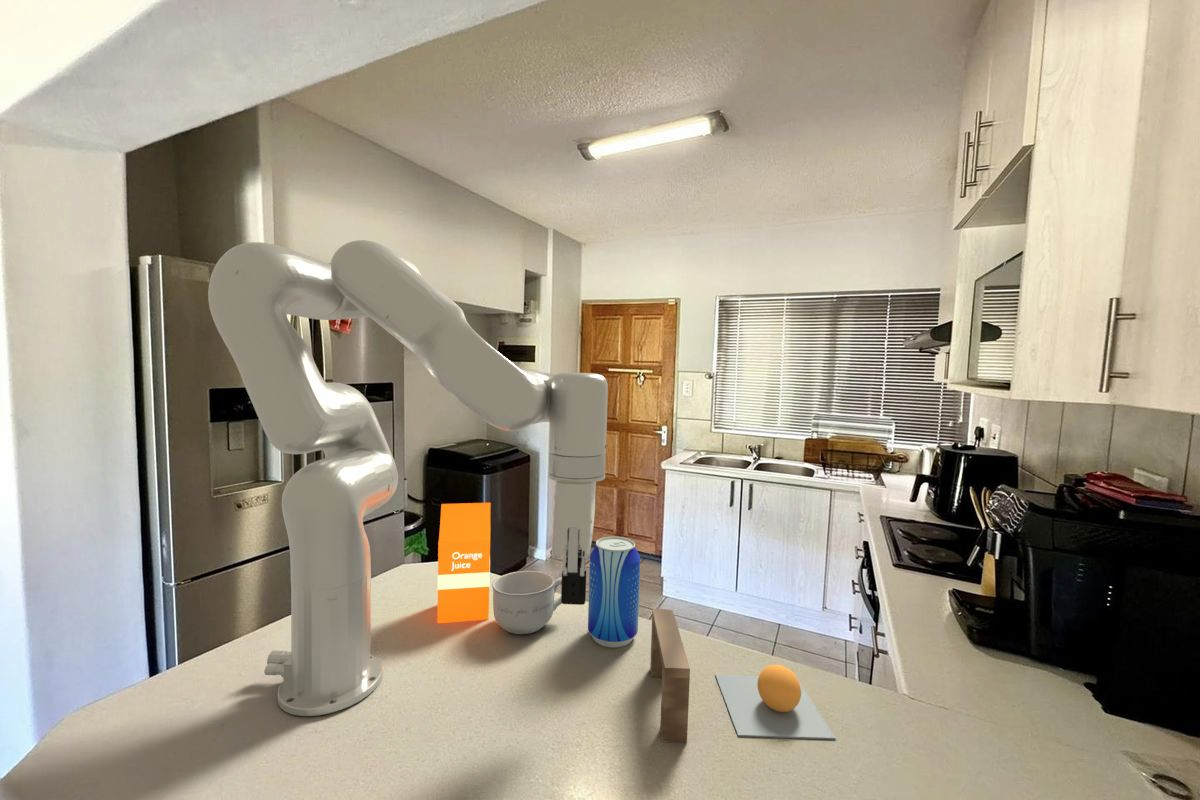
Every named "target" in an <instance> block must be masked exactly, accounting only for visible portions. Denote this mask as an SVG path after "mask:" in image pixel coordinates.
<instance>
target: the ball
mask: <svg viewBox="0 0 1200 800" xmlns="http://www.w3.org/2000/svg"><path fill="white" fill-rule="evenodd" d="M758 676H759V677H758V683H757V686H758V691H759V694H760V697H761V698H762V700H763V701H764V703H765V704H766V705H767V706H768V707H770V708H771V709H773V710H775V711H778V712H788V711H791V710H793V709H794V708H795V707H796V706H797V705H798V703H799V701H800V698H801V687H800V683H801V682H800V680H799V678H798V677H797V675H796V674H795V673H794V672H793V671H792V670H791V669H789V668H788V667H786V666H784V665H781V664H770V665H767V666H765V667H764V668H763V669H762V670H761V672H760V673H759V675H758ZM797 678H798V679H797ZM798 680H799V681H798ZM799 682H800V683H799Z"/></svg>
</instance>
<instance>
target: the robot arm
mask: <svg viewBox="0 0 1200 800" xmlns="http://www.w3.org/2000/svg"><path fill="white" fill-rule="evenodd" d="M207 291H208V292H207V293H208V294H207V297H208V298H207V299H208V300H207V301H208V306H209V311H210V315H211V317H212V320H213V322H214V324H215V327H216V329H217V331H218V333H219V335H220V337H221V339H222V340H223V343H224V344H225V346H226V348H227V349H228V351H229V354H230V355H231V357H232V358H233V361H234V363H235V365H236V368H237V369H238V372H239V374H240V377H241V380H242V383H243V385H244V387H245V390H246V392H247V394H248V396H249V399H250V402H251V404H252V405H253V409H254V411H255V413H256V416H257V417H258V421H259V422H260V425H261V427H262V429H263V432H264V433H265V436H266V437H267V439H268V441H269V442H270V444H271V445H272V446H273V448H275V449H276V450H278V451H280V452H281V453H284V454H290V455H300V454H301V455H302V454H309V453H314V452H317V451H318V452H319V451H322V452H323V454H324V457H325V458H322V459H318V460H315V461H313V462H311V463H309V464H307V465H305V466H303V467H302V468H300V469H299V470H298V471H296V472H295V473H294V474H293V475H292V476H291V477H290V478H289V480H288V481H287V483H286V484H285V486H284V489H283V492H282V496H281V510H282V515H283V517H282V518H283V521H284V526H285V529H286V533H287V538H288V545H289V546H288V547H289V557H290V558H289V559H290V561H289V562H290V585H291V586H290V590H291V592H290V597H291V598H290V601H291V602H290V603H291V604H290V605H291V606H290V607H291V609H290V614H291V615H290V616H291V617H290V618H291V621H290V622H291V623H290V628H291V629H290V630H291V633H290V634H291V635H290V637H291V638H290V639H291V641H290V643H291V644H290V645H291V651H290V650H289V651H288V650H272V651H271V652H270V653H269V654H268V657H267V659H266V663H267V664H266V666H265V668H264V676H265V675H266V676H281V678H283V679H282V682H281V683H280V685H279V687H278V689H277V704H278V706H279V707H280V709H282V710H283V711H284V712H285V713H288V714H291V715H294V716H299V717H314V716H316V717H317V716H323V715H328V714H332V713H335V712H338V711H342V710H344V709H347V708H349V707H352V706H354V705H355V704H357V703H359V702H360V701H363V699H365V698H367V697H368V696H369V695H370V694H371V693H372V692H374V690H375V689H376V688H377V687H378V685H380V683H381V681H382V678H383V664H382V662H381V660H380V659H379V658H378V657H376V656H375V655H373V654H372V653H371V651H372V650H371V649H372V647H371V644H372V643H371V642H372V641H371V640H372V638H371V637H372V635H371V633H372V631H371V630H372V628H371V627H372V625H371V624H372V623H371V621H372V619H371V618H372V616H371V615H372V614H371V613H372V607H371V606H372V592H371V591H372V567H371V565H372V562H371V561H372V560H371V555H372V554H371V547H370V542H369V540H368V535H367V533H366V530H365V527H364V521H363V520H364V517H366V516H367V515H368V514H370V513H372V512H373V511H376V510H377V509H379V508H380V507H382V506H383V505H385V504H386V503H387V502H389V501H390V499H392V497H393V496H394V495H395V493H396V490H397V488H398V485H399V484H398V483H399V472H398V467H397V464H396V461H395V459H394V456H393V453H392V451H391V449H390V446H389V443H388V442H387V440H386V437H385V434H384V432H383V430H382V428H381V425H380V423H379V420H378V418H377V415H376V413H375V411H374V409H373V407H372V405H371V403H370V401H368V399H367V397H366V396H365V395H363V393H361V391H359V390H358V389H356V388H355V387H353V386H351V385H349V384H346V383H341V382H331V381H330V382H326V381H325V380H324V378H323V377H322V375H321V373H320V371H319V368H318V367H317V364H316V362H315V360H314V357H313V355H312V351H311V349H310V348H309V346H308V344H307V343H306V341H305V340H304V339H303V337H302V336H301V334H299V332H298V331H297V330H296V329H295V328H294V326H293V325H292V324H291V322H290V320H289V319H288V315H290V316H295V317H302V318H307V319H311V320H322V321H323V320H325V321H334V320H335V321H337V320H348V319H349V320H350V319H362V318H370V319H371V320H372V321H374V322H375V323H376V324H378V325H379V326H380V327H381V328H382V329H384V330H385V331H386V332H388V334H390V335H391V336H392V337H394V338H395V339H396V340H397V341H399V343H401V344H402V345H403V346H405V348H407V349H408V350H409V351H411V352H412V353H413V354H414V355H415V356H416V357H417V358H418V360H419V362H420V363H421V364H422V366H423V367H424V368H425V369H426V370H427V371H428V372H429V373H430V375H431V376H432V377H433V379H434V380H436V382H437V383H438V384H439V385H440V386H442V388H444V389H445V390H446V391H447V392H448V393H449V394H450V395H451V396H452V397H454V398H455V399H456V400H457V401H459V403H462V405H463V406H465V407H467V409H469V411H472V412H473V414H475V415H477V416H478V417H479V418H480V419H481V420H483V421H484V422H486V423H487V424H488V425H491V426H493V427H494V428H496V429H499V430H501V431H507V432H516V431H522V430H525V429H527V428H528V427H530V426H531V425H532V426H533V425H535V424H539V423H549V435H548V436H549V438H548V439H549V440H548V442H549V443H548V476H547V477H548V478H549V479H550V480H552V481H555V486H554V495H553V496H554V497H553V512H552V534H551V537H552V538H551V540H552V541H551V551H550V552H551V553H550V554H551V555H550V556H551V558H552V559H553V560H557V558H558V559H559V558H561V557H562V558H563V562H562V563H563V564H562V567H563V569H562V572H561V577H562V583H561V593H560V594H561V596H560V597H561V602H562V604H563V605H574V606H575V605H578V606H580V605H585V604H586V597H587V595H586V594H587V570H585V569H586V560H588V559H590V554H591V548H592V542H593V535H594V524H595V515H596V514H595V511H596V491H597V482H601V481H604V480H605V479H606V468H607V467H606V462H607V458H606V457H607V435H608V434H607V428H608V399H609V398H608V394H609V391H608V390H609V388H608V387H609V386H608V380H607V379H606V377H604V376H603V375H602V374H599V373H591V372H559V373H550V372H549V373H548V372H542V371H536V370H532V369H531V370H530V369H524V368H519V367H518V366H517V365H516V364H514V363H513V362H512V361H511V360H509V359H508V358H507V357H506V356H504V355H503V354H502V353H500V352H499V351H498V350H497V349H495V348H494V347H493V346H492V345H491V344H489V343H488V342H487V341H486V340H485V339H484V338H483V337H481V335H480V334H478V333H477V332H476V331H475V330H474V329H473V328H472V327H471V325H470V324H469V322H468V321H467V319H466V316H465V313H464V310H463V309H462V308H461V307H460V306H459V305H458V304H457V303H456V302H455V301H454V300H453V299H451V297H450V298H449V296H447V295H446V294H445V293H443V292H442V291H441V290H440V289H438V288H437V287H435V286H434V285H433V284H432V283H431V282H430V281H428V280H427V279H425V278H424V277H423V276H422V274H421V272H420V270H419V269H418V267H417V266H416V265H415V264H414V262H411V260H409V259H408V258H406V257H405V256H402V255H401V254H399V253H398V252H396V251H394V250H392V249H390V248H388V247H386V246H385V245H382V244H380V243H378V242H374V241H372V240H366V239H365V240H364V239H361V240H360V239H359V240H352V241H349V242H346V243H344V244H343V245H341V246H340V247H339V248H337V250H336V251H335V252H334V254H333V256H332V258H331V260H330V262H324V261H321V260H319V259H316V258H314V257H311V256H308V255H307V254H305V253H302V252H298V251H296V250H293V249H290V248H288V247H285V246H282V245H277V244H273V243H267V242H262V241H260V242H259V241H257V242H255V241H253V242H251V241H250V242H246V243H241V244H238V245H235V246H233V247H231V248H230V249H229V250H227V251H225V253H224V254H223V255H222V256H221V257H220V258H219V259H218V260H217V262H216V264H215V266H214V267H213V269H212V272H211V276H210V278H209V283H208V290H207ZM562 554H563V556H562Z"/></svg>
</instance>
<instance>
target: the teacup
mask: <svg viewBox="0 0 1200 800" xmlns="http://www.w3.org/2000/svg"><path fill="white" fill-rule="evenodd" d="M559 585H562V576H561V577H559V576H558V578H556V579H554V577H553V576H552V575H550V574H549V573H546V572H543V571H537V570H520V571H513V572H509V573H506V574H503V575H500V576H499V577H497V578H495V579H494V581H493V582H492V584H491V586H492V606H493V617H494V620H495V621H496V623H497V625H499V626H500V627H501V628H502V629H504V630H505V631H507V632H508V633H511V634H515V635H528V634H533V633H535V632H538V631H539V630H542V628H543V627H544V626H545V625H546V624H548V622H549V621H550V620H551V618H552V616H553V614H554V612H555V611H556V610H557V608H558V607H559V606H560V605H561V604H562V602H561V596H559V597H558V598H557V599H555V593H556V591H557V588H558V587H559Z"/></svg>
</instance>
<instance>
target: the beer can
mask: <svg viewBox="0 0 1200 800" xmlns="http://www.w3.org/2000/svg"><path fill="white" fill-rule="evenodd" d="M588 574H589V575H588V576H589V577H588V578H589V581H588V609H587V611H588V612H587V614H588V615H587V631H588V633H589V634H590V635H591V637H592V639H593V640H594V642H595V643H597V644H598V645H599V646H602V647H606V648H623V647H626V646H628V645H629V644H630V643H631V642H632V641H633V639H634V638H635V637H637V634H638V632H639V631H638V630H639V609H640V607H639V606H640V603H639V602H640V579H641V556H640V554H639V552H638V550H637V548H636V543H635V541H634V540H632V539H630V538H627V537H624V536H604V537H601V538H598V539H597V540H596V542H595V546H594V547H593V549H592V551H590V555H589V573H588Z"/></svg>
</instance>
